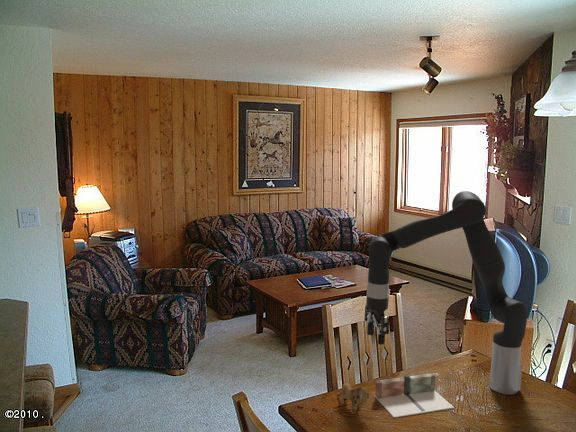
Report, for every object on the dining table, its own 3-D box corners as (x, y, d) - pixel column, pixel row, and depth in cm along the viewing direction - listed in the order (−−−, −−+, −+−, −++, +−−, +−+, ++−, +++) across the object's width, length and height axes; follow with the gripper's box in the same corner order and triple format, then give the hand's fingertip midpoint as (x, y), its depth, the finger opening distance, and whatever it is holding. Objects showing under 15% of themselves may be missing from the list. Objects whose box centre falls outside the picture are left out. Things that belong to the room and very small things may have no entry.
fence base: (431, 388, 176) (432, 371, 175) (434, 391, 174) (435, 374, 173) (402, 392, 173) (403, 375, 172) (405, 395, 171) (405, 378, 170)
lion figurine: (372, 414, 160) (373, 388, 159) (360, 419, 157) (361, 392, 156) (342, 395, 172) (343, 370, 171) (330, 399, 169) (331, 374, 168)
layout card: (430, 388, 177) (431, 386, 177) (454, 408, 164) (454, 406, 164) (374, 396, 171) (374, 394, 171) (393, 417, 158) (393, 416, 158)
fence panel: (401, 392, 173) (402, 377, 172) (404, 394, 171) (404, 379, 170) (375, 395, 170) (375, 380, 169) (377, 398, 168) (378, 383, 167)
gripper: (397, 300, 165) (395, 346, 168) (378, 288, 179) (376, 330, 181) (377, 301, 163) (374, 348, 165) (359, 289, 177) (357, 332, 179)
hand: (375, 339), depth 173 cm, fingers open, 8 cm apart
